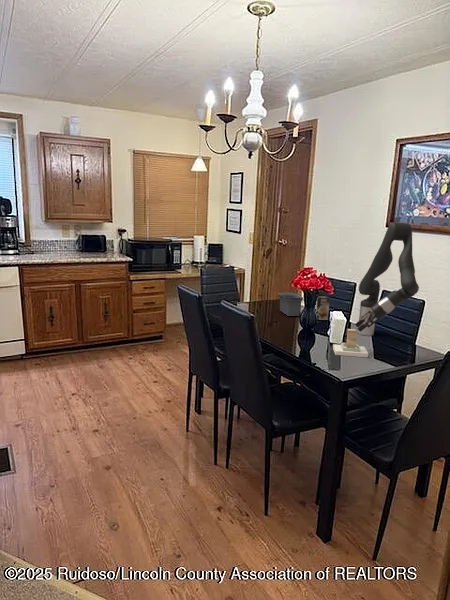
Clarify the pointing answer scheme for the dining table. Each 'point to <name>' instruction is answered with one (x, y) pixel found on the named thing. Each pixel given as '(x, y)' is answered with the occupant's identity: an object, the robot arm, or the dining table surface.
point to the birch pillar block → (351, 338)
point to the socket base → (350, 350)
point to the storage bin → (290, 303)
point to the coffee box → (322, 307)
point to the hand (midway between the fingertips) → (357, 328)
